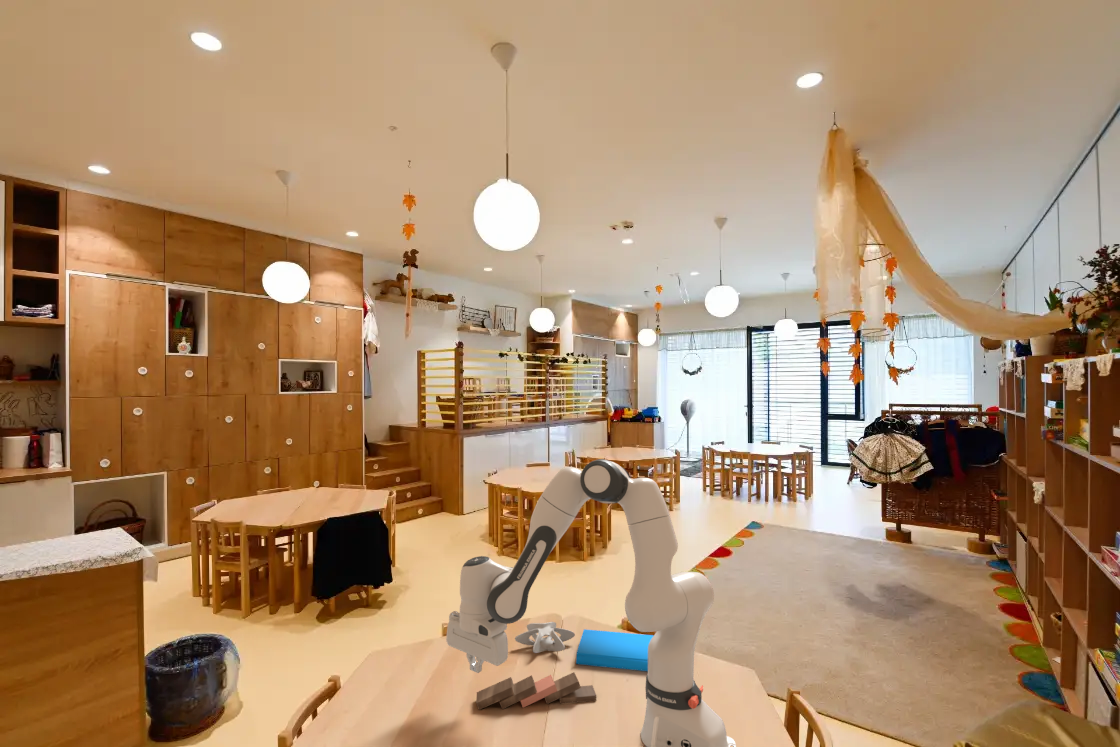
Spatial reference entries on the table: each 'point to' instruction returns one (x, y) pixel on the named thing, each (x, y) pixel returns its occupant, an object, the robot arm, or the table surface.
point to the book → (613, 650)
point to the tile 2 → (520, 692)
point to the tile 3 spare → (540, 691)
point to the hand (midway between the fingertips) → (475, 670)
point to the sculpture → (546, 642)
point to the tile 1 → (495, 693)
